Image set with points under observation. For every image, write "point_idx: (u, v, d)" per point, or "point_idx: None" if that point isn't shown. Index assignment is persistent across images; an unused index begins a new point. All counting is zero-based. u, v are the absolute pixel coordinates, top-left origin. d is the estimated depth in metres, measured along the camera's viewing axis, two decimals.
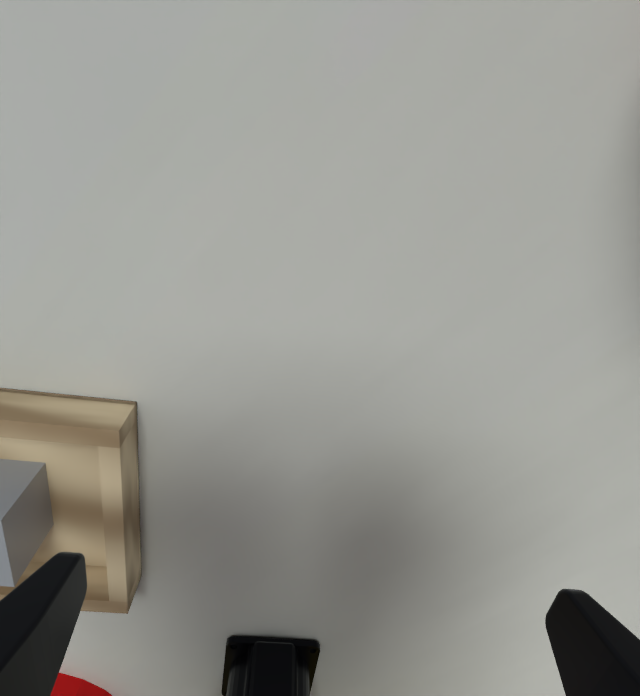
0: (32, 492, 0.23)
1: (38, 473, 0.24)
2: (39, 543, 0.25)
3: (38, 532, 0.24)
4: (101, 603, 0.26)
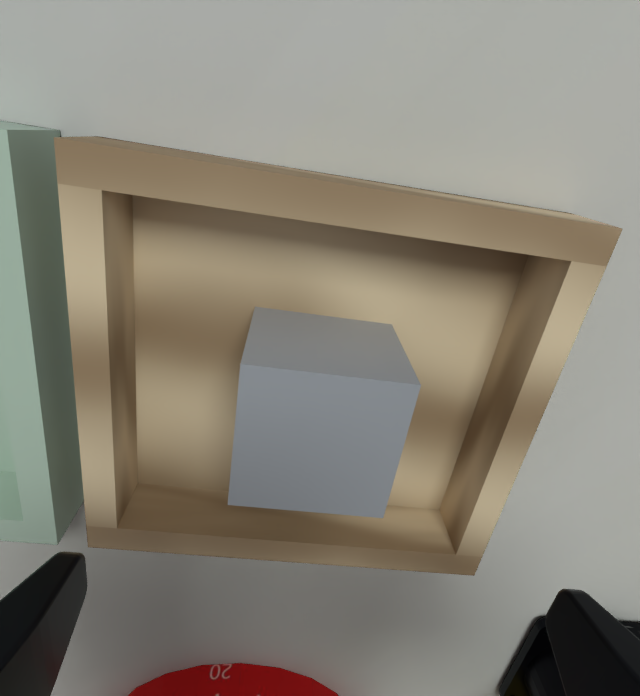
0: None
1: (395, 335, 0.14)
2: None
3: None
4: (442, 558, 0.17)
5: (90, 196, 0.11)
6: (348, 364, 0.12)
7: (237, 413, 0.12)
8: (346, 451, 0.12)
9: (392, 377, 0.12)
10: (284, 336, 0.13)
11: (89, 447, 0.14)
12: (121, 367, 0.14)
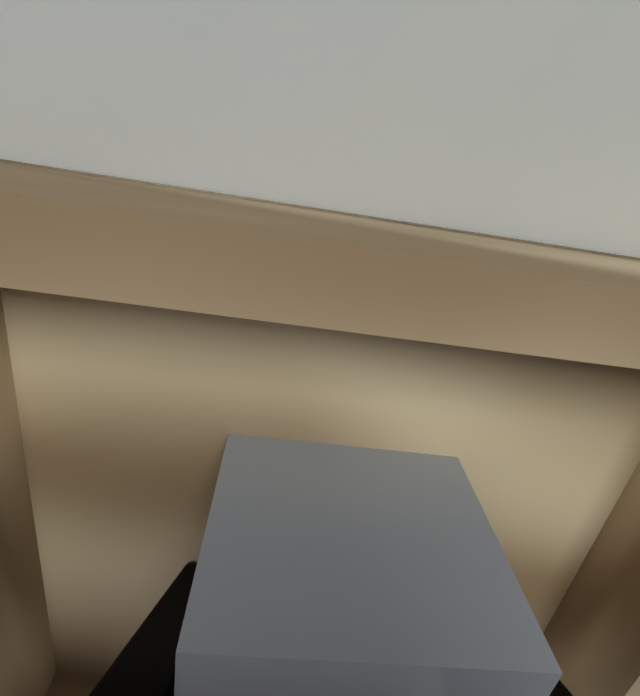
0: None
1: (469, 486, 0.08)
2: None
3: None
4: None
5: None
6: (405, 612, 0.06)
7: None
8: None
9: (497, 647, 0.06)
10: (277, 522, 0.07)
11: None
12: None
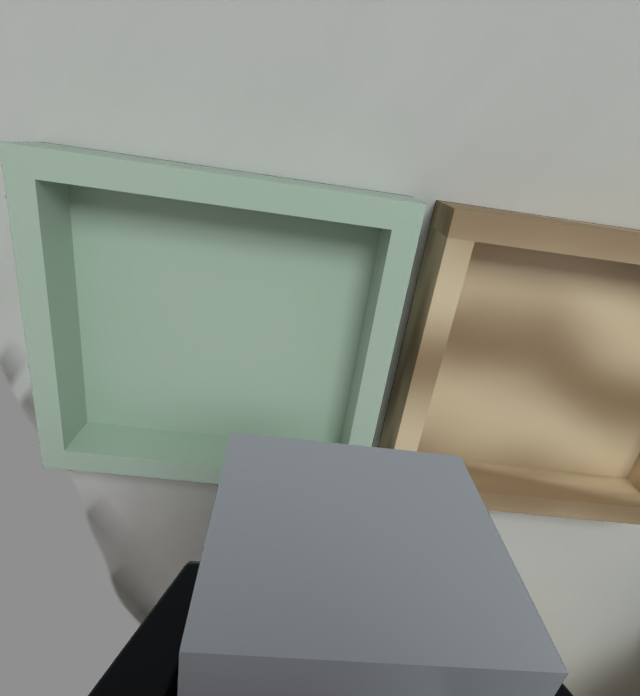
0: None
1: (472, 485, 0.08)
2: None
3: None
4: None
5: (466, 245, 0.16)
6: (410, 611, 0.06)
7: None
8: None
9: (503, 647, 0.06)
10: (280, 521, 0.07)
11: (408, 421, 0.19)
12: None
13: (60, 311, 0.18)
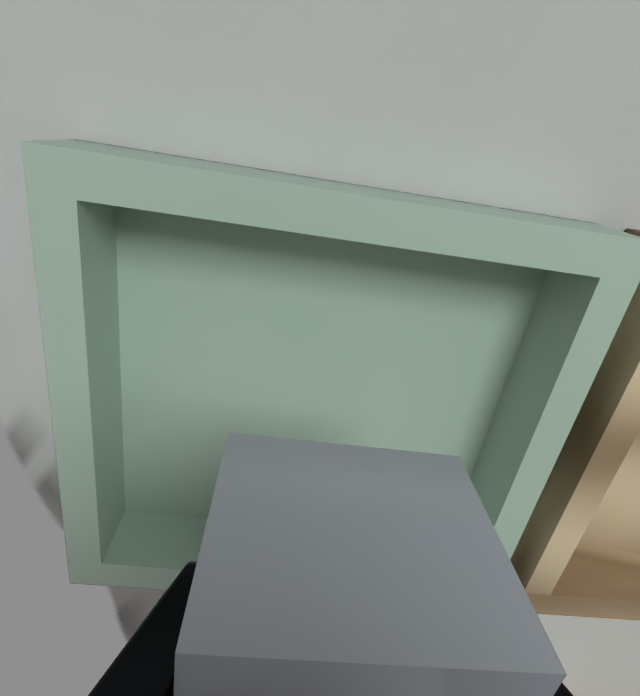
0: None
1: (471, 485, 0.08)
2: None
3: None
4: None
5: None
6: (407, 613, 0.06)
7: None
8: None
9: (501, 648, 0.05)
10: (277, 521, 0.07)
11: (567, 522, 0.14)
12: None
13: (102, 383, 0.12)
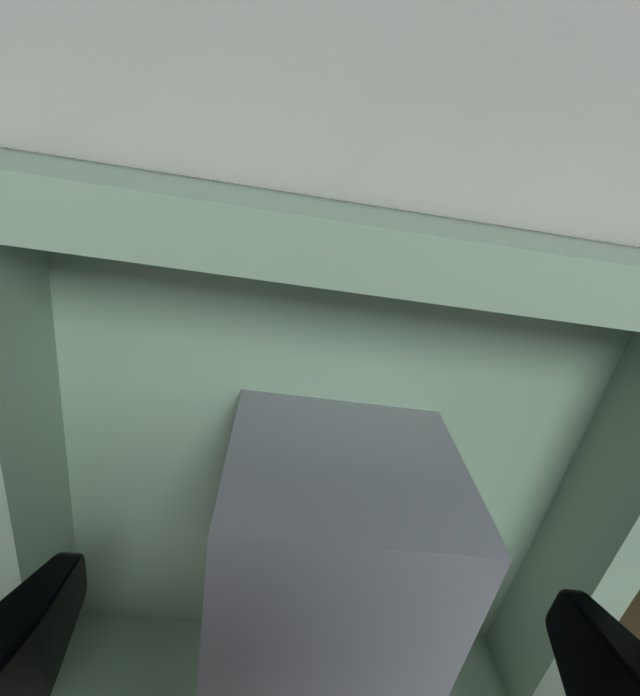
0: None
1: (448, 433, 0.10)
2: None
3: None
4: None
5: None
6: (389, 516, 0.07)
7: (205, 603, 0.07)
8: (383, 648, 0.08)
9: (462, 541, 0.07)
10: (285, 453, 0.08)
11: None
12: None
13: (32, 478, 0.09)
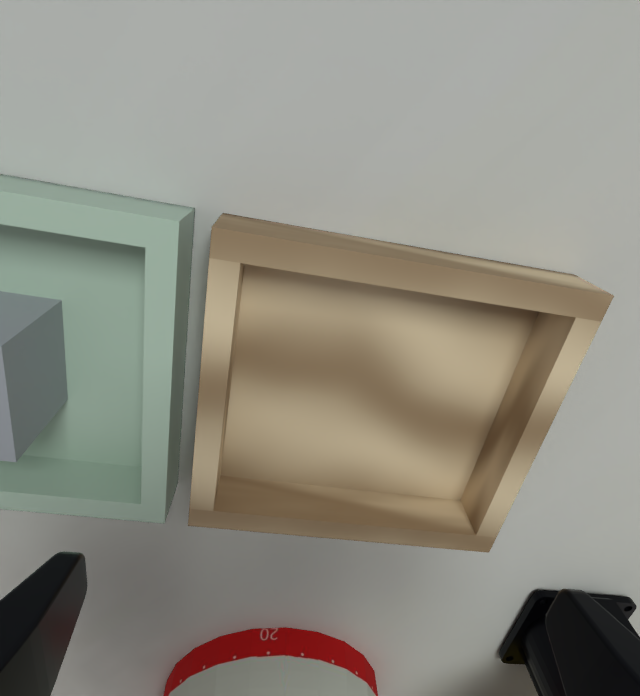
0: (44, 333, 0.16)
1: (52, 308, 0.17)
2: (50, 416, 0.18)
3: (49, 399, 0.17)
4: (465, 538, 0.21)
5: (231, 267, 0.15)
6: None
7: None
8: None
9: None
10: None
11: (201, 447, 0.18)
12: (228, 386, 0.18)
13: None
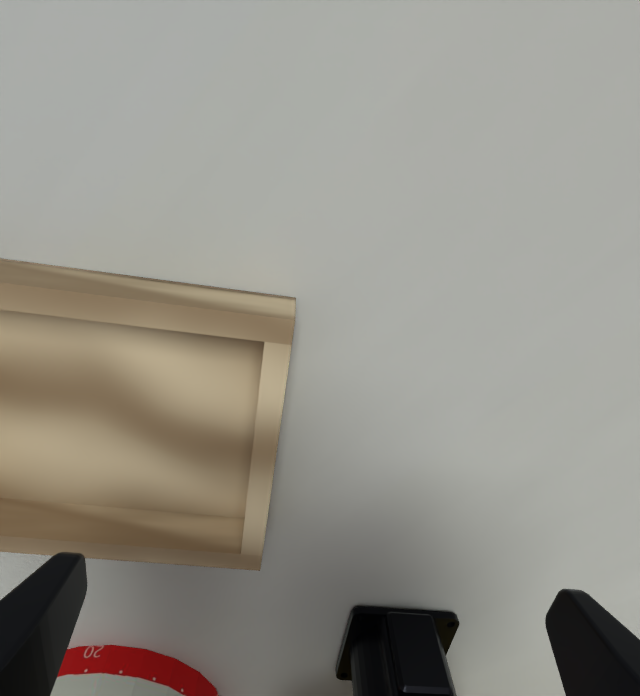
0: None
1: None
2: None
3: None
4: (230, 557, 0.21)
5: None
6: None
7: None
8: None
9: None
10: None
11: None
12: None
13: None
